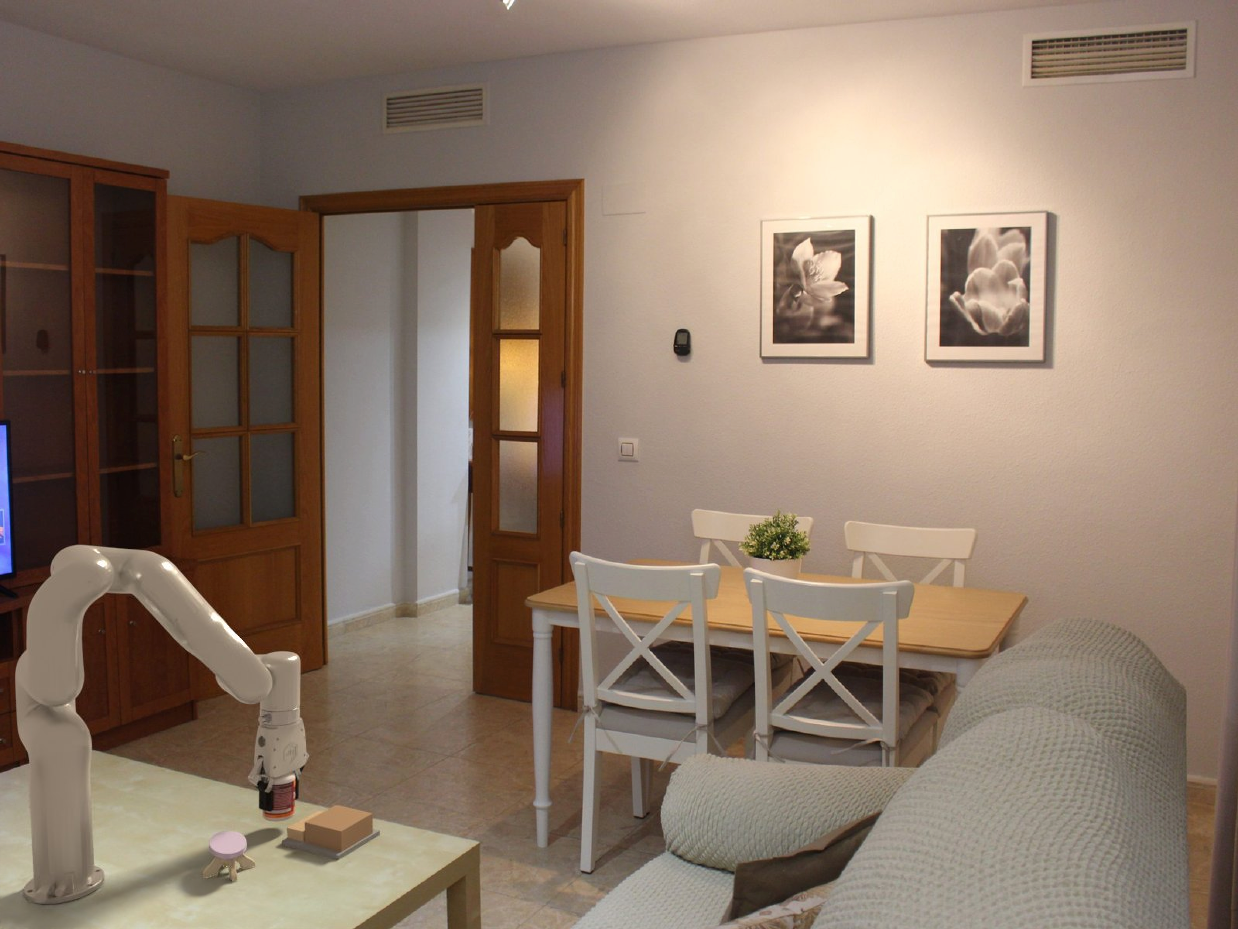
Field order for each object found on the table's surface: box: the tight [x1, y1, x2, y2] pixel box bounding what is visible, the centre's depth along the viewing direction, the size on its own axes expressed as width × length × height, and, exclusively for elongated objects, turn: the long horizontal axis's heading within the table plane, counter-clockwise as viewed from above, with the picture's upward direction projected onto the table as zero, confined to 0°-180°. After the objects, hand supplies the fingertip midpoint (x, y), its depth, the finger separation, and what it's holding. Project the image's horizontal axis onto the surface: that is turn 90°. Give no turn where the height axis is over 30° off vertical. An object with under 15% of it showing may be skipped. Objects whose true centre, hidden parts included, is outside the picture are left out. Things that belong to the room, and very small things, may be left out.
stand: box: [281, 804, 381, 860], centre depth 206 cm, size 14×12×5 cm
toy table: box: [202, 830, 256, 883], centre depth 193 cm, size 10×9×6 cm
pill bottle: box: [262, 771, 296, 822], centre depth 210 cm, size 6×6×11 cm
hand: (278, 803), depth 210 cm, fingers closed on pill bottle, 6 cm apart
